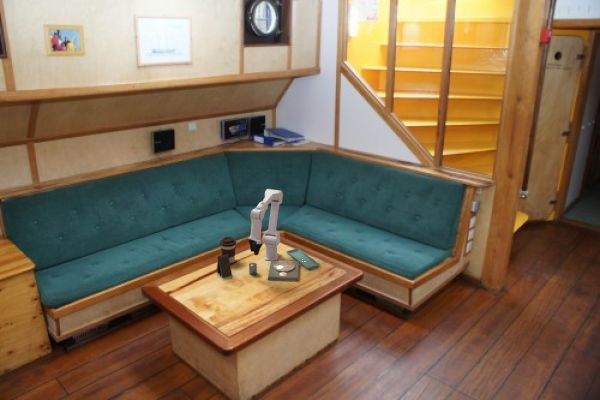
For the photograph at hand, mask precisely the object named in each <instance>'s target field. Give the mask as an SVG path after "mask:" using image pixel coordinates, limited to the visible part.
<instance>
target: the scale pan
mask: <svg viewBox="0 0 600 400" xmlns="http://www.w3.org/2000/svg"><path fill="white" fill-rule="evenodd" d="M276 261H277V262H275V263H274V264H273V268H274V269H275V270H277V271H281V272H287V271H291V270H293V269H294V268H295V264H294V263H293V262H291V260H287V259H283V260H276Z"/></svg>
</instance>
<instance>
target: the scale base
mask: <svg viewBox="0 0 600 400" xmlns="http://www.w3.org/2000/svg"><path fill="white" fill-rule="evenodd" d="M277 261H278V260H270V265H269V270H268V275H267V280H268V281H287V280H288V281H290V282H292V281H293V282H298V279H299V266H300V263H299V262H298V261H296V260H295V261H294V260H293V261H291V260H290V261H291V262H293V263H294V264H295V268H294V269H293V270H291V271H287V272H281V271H277V270H275V269H274V268H273V264H274V263H275V262H277Z"/></svg>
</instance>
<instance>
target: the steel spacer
mask: <svg viewBox="0 0 600 400" xmlns="http://www.w3.org/2000/svg"><path fill="white" fill-rule="evenodd" d="M257 274H258V264H257V263H256V262H250V263H248V275H249V276H257Z"/></svg>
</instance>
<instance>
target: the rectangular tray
mask: <svg viewBox="0 0 600 400" xmlns="http://www.w3.org/2000/svg"><path fill="white" fill-rule="evenodd" d="M286 253H287V255H289V256H290V257H291V259H294V260H295V261H298V262H299V265H301V266H302V267H303V268H305V270H307V271H308V270H312V269H315V268H318V267H319V266H320V265H321V264H320V263H319V262H317V261H316V260H315V259H313V258H312V257H311V256H310V255H308V254H307V253H306V252H304V251H303V250H302V249H301V248H299V247H297V248H294V249H290V250H286ZM302 259H303V260H302ZM302 261H303V262H302ZM304 261H306V262H304Z"/></svg>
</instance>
